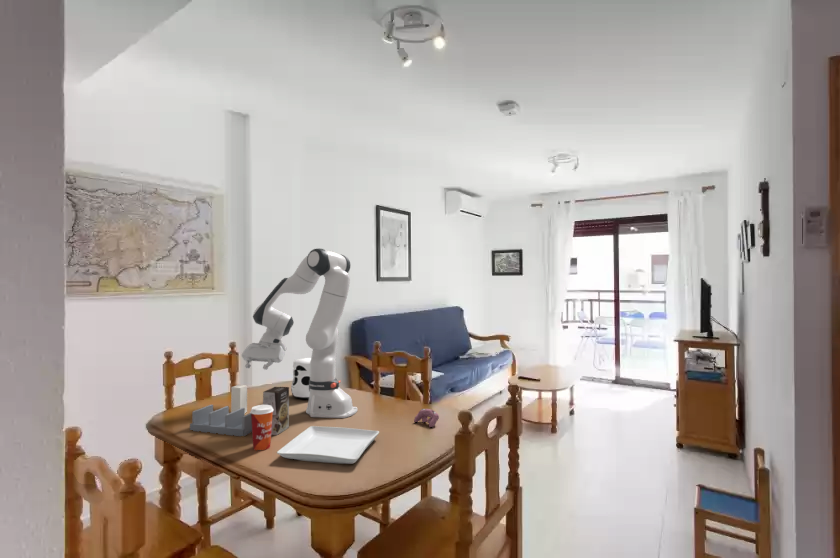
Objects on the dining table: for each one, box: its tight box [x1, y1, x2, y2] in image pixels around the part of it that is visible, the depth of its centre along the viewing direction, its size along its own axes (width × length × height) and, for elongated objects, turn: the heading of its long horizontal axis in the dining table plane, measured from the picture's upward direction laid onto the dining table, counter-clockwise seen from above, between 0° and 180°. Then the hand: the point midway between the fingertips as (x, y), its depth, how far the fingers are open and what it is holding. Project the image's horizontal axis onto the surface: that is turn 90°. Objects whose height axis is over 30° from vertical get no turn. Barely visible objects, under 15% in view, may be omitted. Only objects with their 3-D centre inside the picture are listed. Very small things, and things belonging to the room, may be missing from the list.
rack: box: [189, 404, 252, 437], centre depth 172 cm, size 24×12×7 cm, turn 75°
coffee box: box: [262, 386, 290, 436], centre depth 170 cm, size 9×6×16 cm
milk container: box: [290, 357, 311, 400], centre depth 220 cm, size 17×17×18 cm
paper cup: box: [249, 404, 274, 451], centre depth 153 cm, size 8×8×14 cm
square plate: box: [276, 425, 380, 465], centre depth 152 cm, size 27×27×4 cm
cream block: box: [230, 384, 248, 414], centre depth 191 cm, size 4×4×12 cm
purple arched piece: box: [413, 408, 440, 428], centre depth 179 cm, size 10×5×7 cm, turn 47°
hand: (255, 368), depth 202 cm, fingers open, 8 cm apart
